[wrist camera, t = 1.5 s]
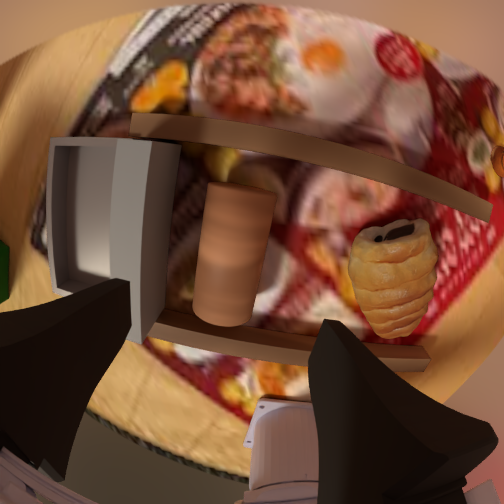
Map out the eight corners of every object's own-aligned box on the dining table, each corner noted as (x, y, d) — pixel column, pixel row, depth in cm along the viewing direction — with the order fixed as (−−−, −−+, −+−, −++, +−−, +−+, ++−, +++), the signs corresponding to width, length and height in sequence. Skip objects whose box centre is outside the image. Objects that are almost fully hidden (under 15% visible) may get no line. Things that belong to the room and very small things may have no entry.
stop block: (165, 306, 21) (141, 344, 16) (141, 300, 21) (114, 335, 16) (181, 144, 17) (152, 141, 12) (154, 142, 17) (117, 139, 12)
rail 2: (415, 358, 21) (423, 371, 20) (131, 315, 21) (121, 328, 19) (422, 346, 21) (431, 359, 19) (131, 300, 21) (120, 312, 19)
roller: (258, 304, 20) (241, 333, 16) (207, 288, 21) (181, 313, 17) (282, 193, 17) (268, 199, 13) (223, 180, 18) (196, 183, 14)
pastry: (425, 314, 20) (445, 338, 17) (356, 338, 21) (368, 368, 18) (419, 209, 17) (447, 221, 14) (337, 232, 18) (353, 250, 15)
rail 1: (473, 217, 17) (488, 222, 15) (141, 137, 17) (128, 135, 15) (477, 199, 16) (492, 204, 15) (145, 116, 16) (132, 112, 14)
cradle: (137, 300, 21) (124, 316, 18) (68, 280, 20) (52, 292, 18) (149, 140, 17) (132, 138, 14) (70, 137, 16) (50, 137, 14)
